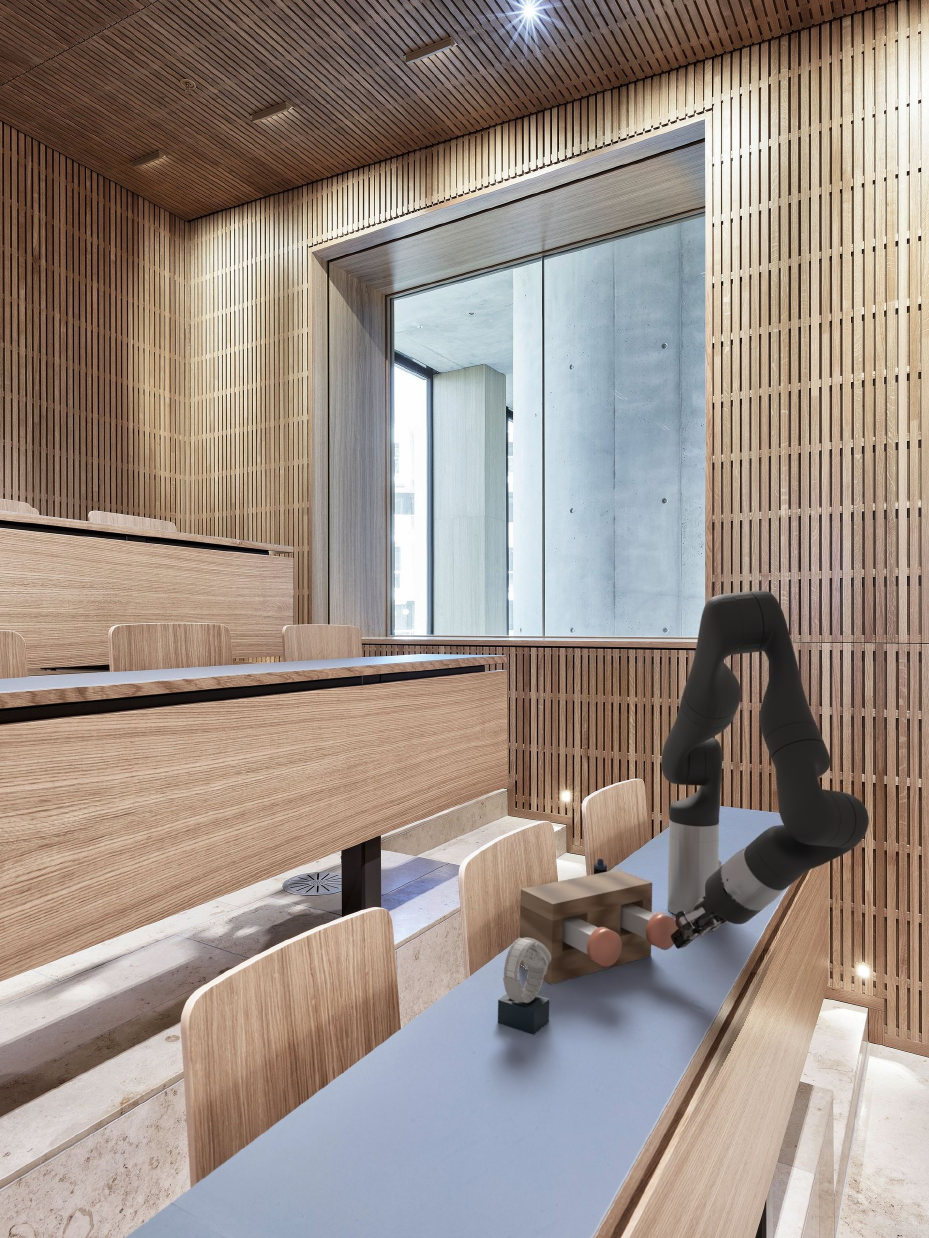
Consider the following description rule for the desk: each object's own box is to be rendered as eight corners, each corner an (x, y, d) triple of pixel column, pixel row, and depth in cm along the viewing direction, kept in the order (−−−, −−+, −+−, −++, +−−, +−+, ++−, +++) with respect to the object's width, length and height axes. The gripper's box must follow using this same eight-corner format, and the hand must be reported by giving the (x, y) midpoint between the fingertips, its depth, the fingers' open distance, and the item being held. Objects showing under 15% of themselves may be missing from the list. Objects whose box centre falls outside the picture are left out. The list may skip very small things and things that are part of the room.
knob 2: (629, 924, 132) (630, 894, 132) (678, 946, 123) (678, 914, 123) (607, 930, 129) (607, 899, 130) (655, 953, 121) (655, 919, 121)
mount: (616, 939, 137) (618, 869, 138) (651, 955, 131) (652, 882, 131) (519, 965, 126) (520, 888, 126) (551, 984, 119) (552, 904, 119)
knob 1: (574, 938, 126) (574, 906, 126) (621, 962, 117) (622, 928, 117) (549, 944, 123) (550, 912, 123) (595, 969, 114) (596, 934, 114)
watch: (555, 1016, 110) (557, 935, 110) (527, 1040, 103) (528, 955, 103) (520, 1005, 113) (521, 926, 113) (490, 1028, 106) (491, 944, 106)
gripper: (760, 853, 116) (692, 911, 126) (699, 866, 109) (632, 926, 119) (792, 900, 112) (719, 956, 122) (730, 917, 105) (658, 976, 115)
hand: (676, 941), depth 121 cm, fingers closed
